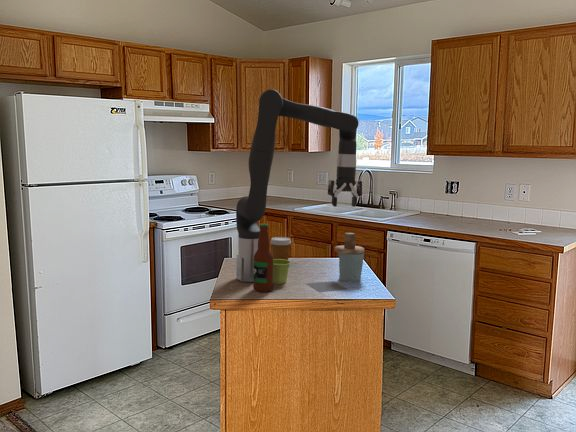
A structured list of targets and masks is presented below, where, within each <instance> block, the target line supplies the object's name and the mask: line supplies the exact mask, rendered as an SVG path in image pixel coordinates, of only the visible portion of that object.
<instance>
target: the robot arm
mask: <svg viewBox="0 0 576 432" xmlns="http://www.w3.org/2000/svg"><path fill="white" fill-rule="evenodd" d="M279 117H284V118H290V119H295V120H299V121H303V122H306V123H310V124H312V125H313V124H314V125H317V126H321V127H325V128H332V129H334V130H335V129H336V130H339V131H338V133H339V142H338V151H337V152H338V154H337V159H336V160H337V161H336V176H335V177H336V179H335V180H334V179H329V180H328V185H327V195H328V196H331V205H332V207H335V208H336V207H338V206H337V205H338V196H339V194H341V192H349V193H350V194H351V196H352V197H351V207H353V208H354V207H356V206H357V204H358V198H359V197H360V196H362V195H363V181H362V180H356V174H357V145H358V144H357V129H358V128H359V124H360V123H359V119H358V118H357V116H356V115H354V114H351V113H349V112H342V111H335V110H333V109H331V108H326V107H322V106H319V105H313V104H308V103H307V104H306V103H301V102H300V103H299V102H294V101H291V100H289V99H286V98H285V97H282V95H281V94H280V93H279V91H278V90H276V89H273V88H272V89H271V88H270V89H266V90H265V91H263V92H262V93H261V94H260V96H259V99H258V114H257V123H256V128H255V131H254V134H253V138H252V141H251V146H250V149H249V157H248V172H249V177H250V185H249V191H248V196H247V195H246V196H242V197H241V198H240V199H239V200H238V201H237V204H236V208H235V209H236V212H235V216H236V217H235V219H236V220H235V221H236V224H235V225H236V230H237V234H238V241H237V243H238V244H237V245H238V246H237V247H238V248H237V249H238V251H237V254H236V272H235V273H236V276H235V277H236V279H237V280H238V281H240V282H247V283H248V282H249V283H250V282H251V283H252V282H253V274H254V255H255V253H256V251H257V250H258V239H259V234H260V230H259V229H260V225H259V224H258V221H260V220H262V218H263V217H264V216H265V213H266V208H267V196H268V195H267V194H268V186H269V181H270V176H271V175H270V174H271V169H272V166H273V165H272V164H273V160H274V159H273V158H274V153H275V149H276V148H275V145H276V128H277V124H278V123H277V122H278V119H279ZM335 186H336V187H335ZM355 186H356V189H355Z"/></svg>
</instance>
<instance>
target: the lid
mask: <svg viewBox="0 0 576 432" xmlns="http://www.w3.org/2000/svg"><path fill="white" fill-rule="evenodd" d="M356 237H357V235H356V233H354V232H344V243H343V244H342V245H336V246H334V252H336V253H338V254H339V253H343V254H361V253H364V254H365V251H366V250H365V249H366V248H364V247H363V246H360V245H356Z"/></svg>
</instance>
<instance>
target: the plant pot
mask: <svg viewBox="0 0 576 432" xmlns="http://www.w3.org/2000/svg"><path fill="white" fill-rule="evenodd" d="M291 263H292V262H291V261H290V260H289V259H288V260H285V259H273V285H274V284H277V285H282V284H286V283H287V279H288V274H289V268H290V265H291Z"/></svg>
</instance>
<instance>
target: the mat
mask: <svg viewBox="0 0 576 432" xmlns="http://www.w3.org/2000/svg"><path fill="white" fill-rule="evenodd" d="M306 285H307V286H308V287H310V288H311V289H313V290H315V291H317V292H318V293H323V292H324V293H326V292H333V291H334V292H335V291H344V290H348V288H347V287H344V286H343V285H342V284H339V283H338V282H336V281H334V280H331V281H329V280H328V281H319V282H310V283H309V282H307V283H306Z"/></svg>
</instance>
